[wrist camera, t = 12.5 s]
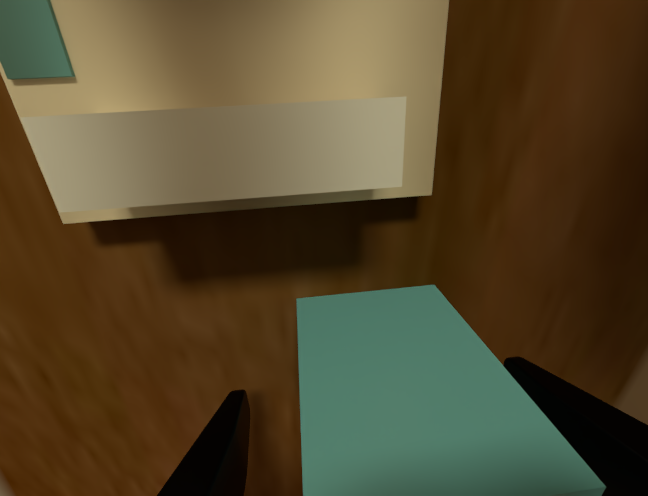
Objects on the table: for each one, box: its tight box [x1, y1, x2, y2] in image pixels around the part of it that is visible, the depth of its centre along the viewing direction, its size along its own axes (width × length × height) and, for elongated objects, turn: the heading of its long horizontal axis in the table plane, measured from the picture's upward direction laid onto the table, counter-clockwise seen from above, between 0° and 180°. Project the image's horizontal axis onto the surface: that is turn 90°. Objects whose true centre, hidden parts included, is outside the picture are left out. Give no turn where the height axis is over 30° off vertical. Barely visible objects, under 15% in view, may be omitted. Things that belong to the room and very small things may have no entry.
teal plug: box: [297, 285, 606, 496], centre depth 7 cm, size 4×4×8 cm
